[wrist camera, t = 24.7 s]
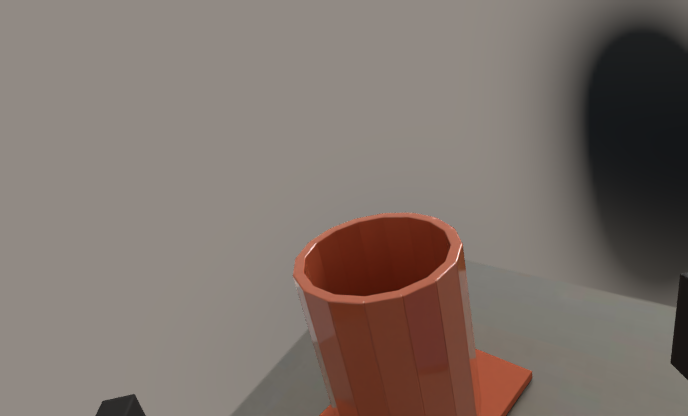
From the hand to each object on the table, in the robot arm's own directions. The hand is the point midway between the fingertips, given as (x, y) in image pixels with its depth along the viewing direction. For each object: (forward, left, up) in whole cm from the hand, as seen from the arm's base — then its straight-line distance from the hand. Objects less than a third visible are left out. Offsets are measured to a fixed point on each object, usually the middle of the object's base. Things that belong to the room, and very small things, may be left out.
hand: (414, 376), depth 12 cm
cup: (+6, +7, -12) cm, 15 cm away
